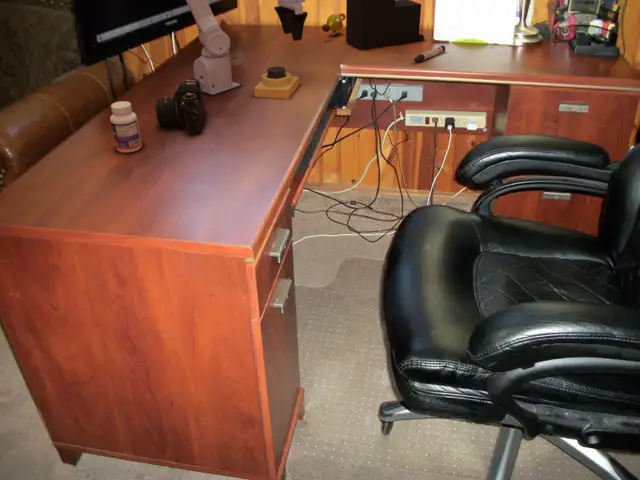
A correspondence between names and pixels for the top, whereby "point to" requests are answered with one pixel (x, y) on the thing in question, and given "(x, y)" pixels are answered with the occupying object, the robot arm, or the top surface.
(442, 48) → the marker
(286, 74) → the plate
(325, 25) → the toy figure
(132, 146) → the pill bottle
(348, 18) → the bookend
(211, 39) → the robot arm
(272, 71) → the button
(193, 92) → the film camera
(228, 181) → the top surface
